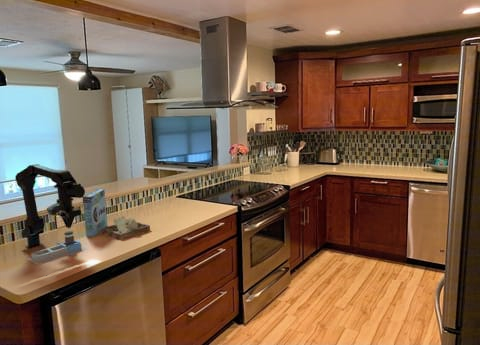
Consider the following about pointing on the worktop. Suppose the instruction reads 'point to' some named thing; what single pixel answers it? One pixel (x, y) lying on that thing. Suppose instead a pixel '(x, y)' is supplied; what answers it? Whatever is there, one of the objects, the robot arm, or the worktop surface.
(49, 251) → the narrow cubby shelf
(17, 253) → the worktop surface
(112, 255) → the worktop surface
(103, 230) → the cheese crate
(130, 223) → the pale green lump
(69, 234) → the dark grey cylinder
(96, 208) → the gum box
